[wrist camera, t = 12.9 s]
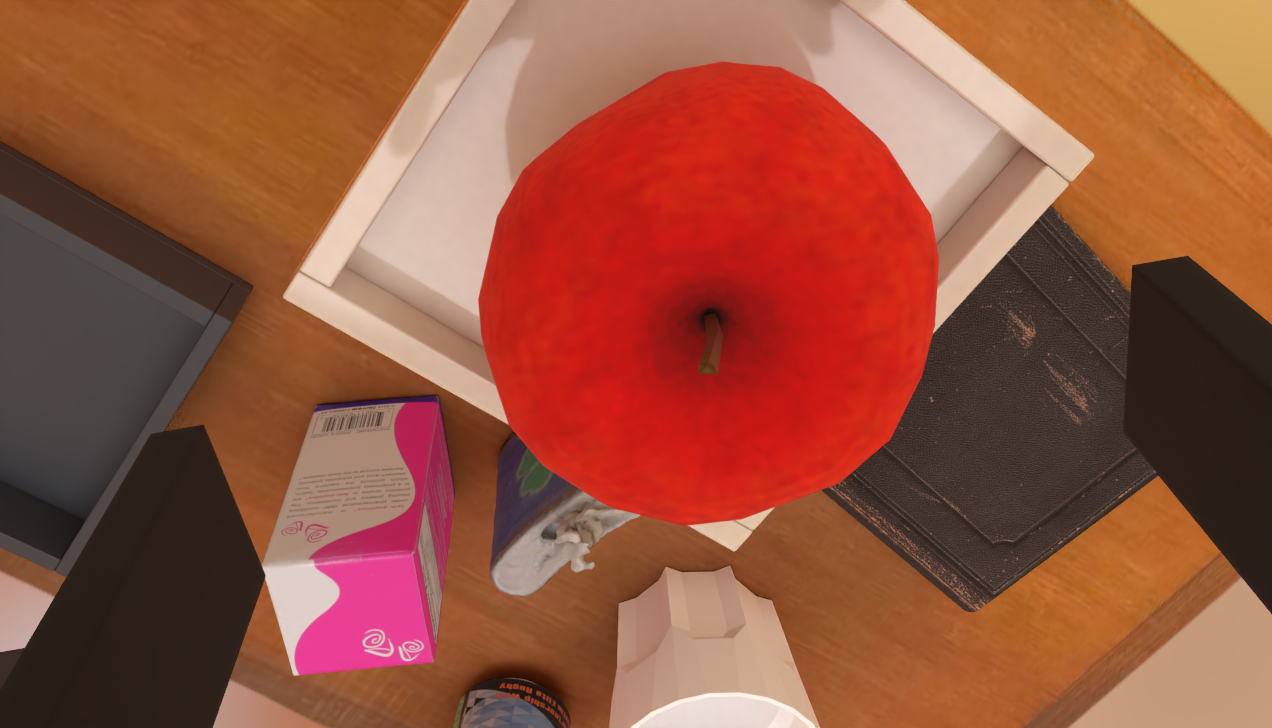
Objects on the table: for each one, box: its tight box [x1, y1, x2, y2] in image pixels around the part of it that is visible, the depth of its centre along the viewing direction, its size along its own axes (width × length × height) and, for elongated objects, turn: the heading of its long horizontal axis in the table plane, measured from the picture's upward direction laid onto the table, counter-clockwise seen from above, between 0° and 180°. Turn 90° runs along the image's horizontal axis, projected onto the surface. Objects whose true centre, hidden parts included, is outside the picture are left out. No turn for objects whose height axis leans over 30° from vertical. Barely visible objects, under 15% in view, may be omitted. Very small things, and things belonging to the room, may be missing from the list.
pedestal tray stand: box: [283, 0, 1094, 552], centre depth 35 cm, size 13×13×22 cm
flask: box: [490, 432, 641, 597], centre depth 48 cm, size 9×3×11 cm, turn 129°
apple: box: [478, 61, 939, 526], centre depth 24 cm, size 9×9×8 cm
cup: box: [609, 566, 820, 728], centre depth 55 cm, size 10×10×10 cm
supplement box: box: [262, 396, 455, 675], centre depth 48 cm, size 6×6×11 cm
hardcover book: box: [822, 205, 1159, 612], centre depth 51 cm, size 16×23×2 cm
